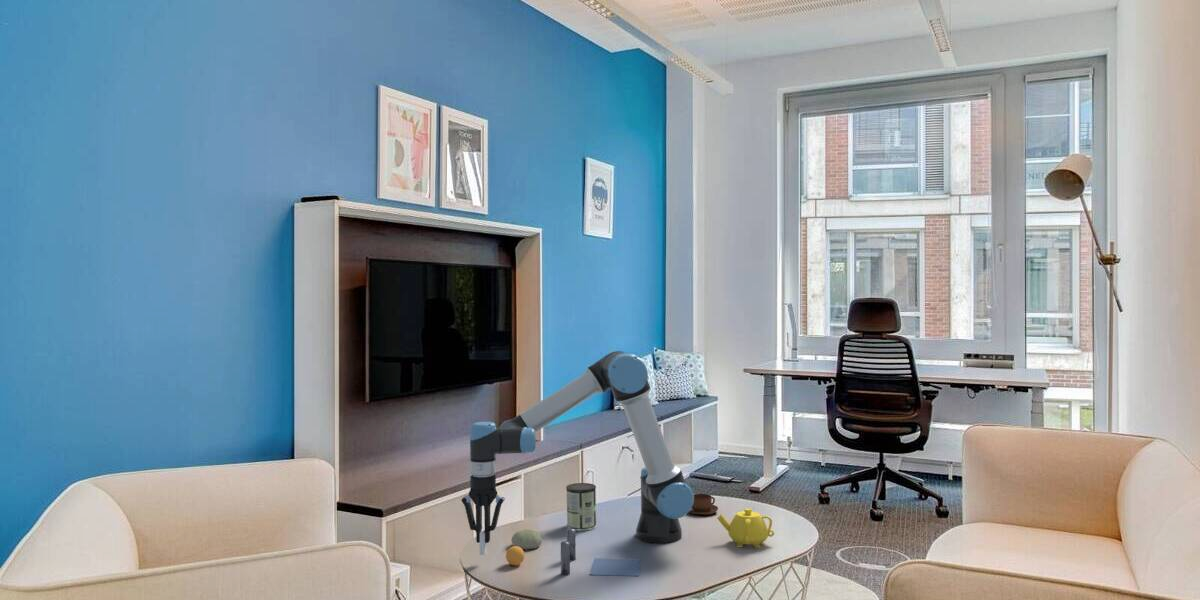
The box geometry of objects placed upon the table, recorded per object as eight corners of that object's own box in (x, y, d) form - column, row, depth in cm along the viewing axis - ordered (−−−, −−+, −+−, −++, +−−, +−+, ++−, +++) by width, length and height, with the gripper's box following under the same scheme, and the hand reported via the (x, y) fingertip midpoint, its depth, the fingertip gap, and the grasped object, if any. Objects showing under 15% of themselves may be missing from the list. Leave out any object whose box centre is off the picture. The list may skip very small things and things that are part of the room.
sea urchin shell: (539, 545, 247) (521, 526, 248) (522, 563, 248) (504, 543, 249) (547, 536, 256) (530, 517, 257) (531, 553, 257) (513, 534, 258)
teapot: (748, 534, 263) (748, 500, 263) (778, 544, 251) (778, 509, 251) (716, 542, 255) (715, 507, 255) (745, 553, 243) (745, 517, 243)
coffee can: (577, 521, 280) (577, 481, 280) (601, 525, 274) (601, 484, 274) (560, 528, 271) (560, 487, 271) (585, 532, 266) (585, 491, 266)
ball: (526, 562, 237) (525, 543, 237) (522, 568, 231) (522, 549, 231) (508, 561, 237) (507, 543, 237) (504, 567, 232) (504, 549, 232)
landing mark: (640, 559, 238) (640, 559, 238) (638, 576, 224) (638, 575, 224) (594, 558, 239) (594, 558, 239) (589, 575, 225) (589, 574, 225)
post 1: (570, 572, 228) (570, 541, 228) (569, 575, 225) (569, 543, 225) (561, 571, 228) (561, 541, 228) (560, 575, 226) (560, 543, 225)
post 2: (576, 557, 240) (575, 528, 240) (575, 560, 238) (574, 530, 238) (567, 557, 241) (567, 528, 241) (566, 560, 238) (566, 530, 238)
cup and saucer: (696, 506, 298) (696, 490, 298) (724, 512, 290) (724, 495, 290) (678, 513, 289) (678, 496, 289) (707, 519, 281) (706, 502, 281)
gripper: (458, 476, 232) (458, 556, 232) (501, 477, 231) (501, 558, 231) (465, 471, 240) (465, 548, 240) (507, 472, 238) (507, 549, 238)
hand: (483, 553), depth 235 cm, fingers closed
